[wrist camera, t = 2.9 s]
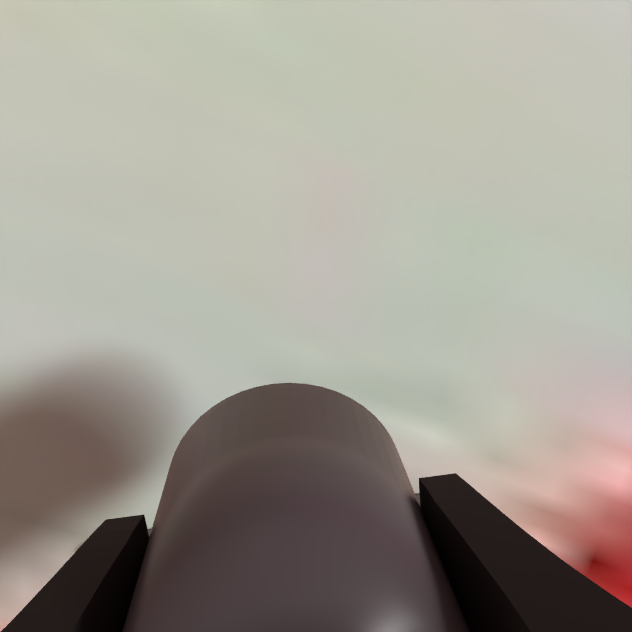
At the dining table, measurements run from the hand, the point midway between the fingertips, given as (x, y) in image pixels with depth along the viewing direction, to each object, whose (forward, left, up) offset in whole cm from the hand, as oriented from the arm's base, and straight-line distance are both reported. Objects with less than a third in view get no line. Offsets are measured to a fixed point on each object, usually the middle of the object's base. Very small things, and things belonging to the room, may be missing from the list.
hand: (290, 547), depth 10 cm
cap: (0, 0, -2) cm, 2 cm away
